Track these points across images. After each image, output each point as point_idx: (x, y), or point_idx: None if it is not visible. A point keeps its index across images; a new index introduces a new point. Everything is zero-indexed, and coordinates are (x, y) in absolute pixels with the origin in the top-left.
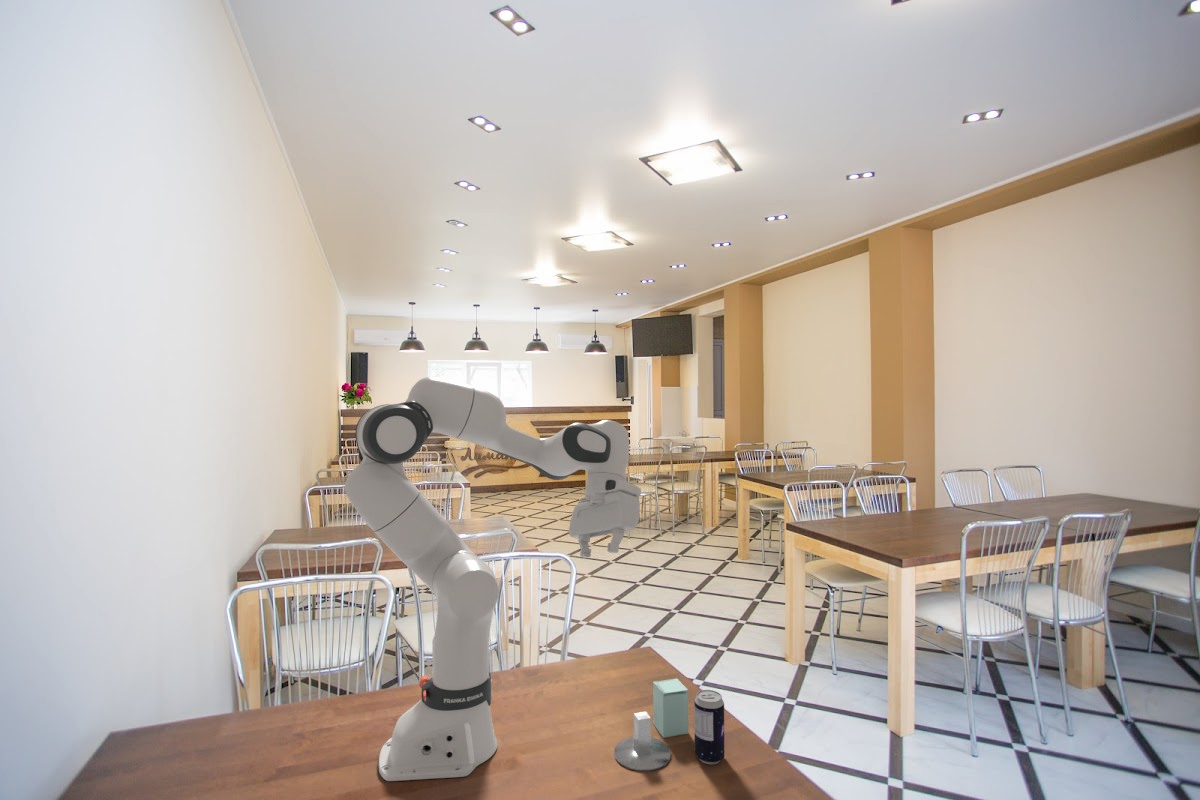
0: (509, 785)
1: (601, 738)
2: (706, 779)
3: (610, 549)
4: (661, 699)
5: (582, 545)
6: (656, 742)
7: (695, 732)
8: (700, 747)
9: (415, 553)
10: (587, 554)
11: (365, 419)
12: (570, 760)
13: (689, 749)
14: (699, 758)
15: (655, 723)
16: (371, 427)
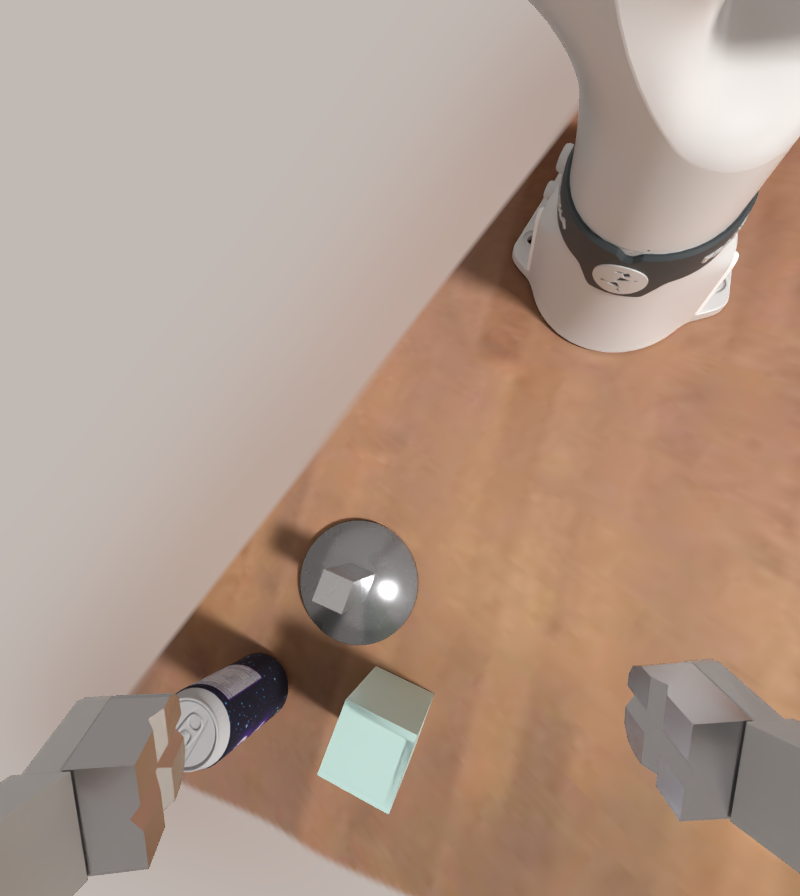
0: (438, 313)
1: (461, 550)
2: (226, 620)
3: (99, 698)
4: (363, 697)
5: (795, 756)
6: (363, 631)
7: (250, 670)
8: (245, 659)
9: None
10: (646, 719)
11: None
12: (434, 446)
13: (309, 675)
14: (260, 653)
15: (420, 690)
16: None
